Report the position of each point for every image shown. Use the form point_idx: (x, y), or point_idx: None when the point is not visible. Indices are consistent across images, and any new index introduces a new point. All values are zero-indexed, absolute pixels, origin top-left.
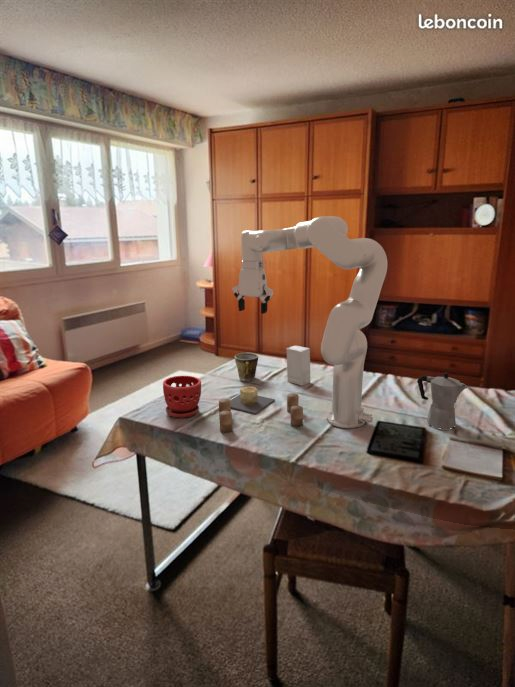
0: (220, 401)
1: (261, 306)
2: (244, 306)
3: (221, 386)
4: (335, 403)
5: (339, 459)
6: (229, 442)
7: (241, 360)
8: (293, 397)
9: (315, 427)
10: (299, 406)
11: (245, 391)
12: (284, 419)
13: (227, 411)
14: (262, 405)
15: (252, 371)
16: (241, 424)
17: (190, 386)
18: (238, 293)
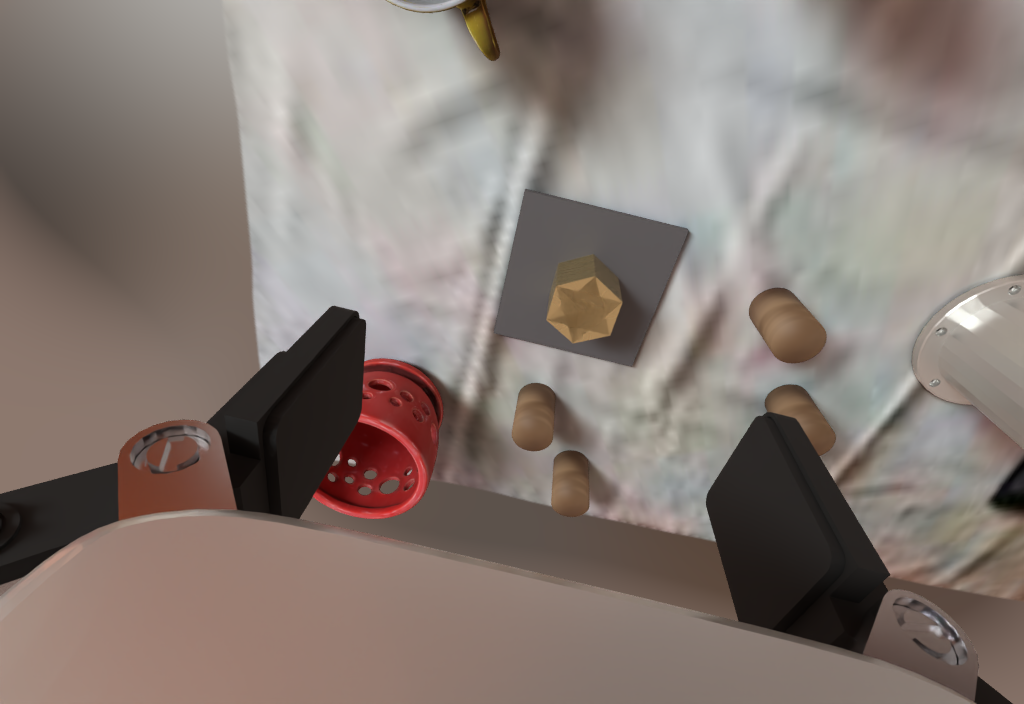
0: (519, 440)
1: (741, 601)
2: (343, 350)
3: (388, 125)
4: (992, 421)
5: (895, 534)
6: (601, 508)
7: (423, 12)
8: (800, 360)
9: (853, 406)
10: (822, 430)
11: (576, 335)
12: (741, 375)
13: (571, 494)
14: (645, 304)
15: None
16: (603, 428)
17: (414, 501)
18: (7, 576)
